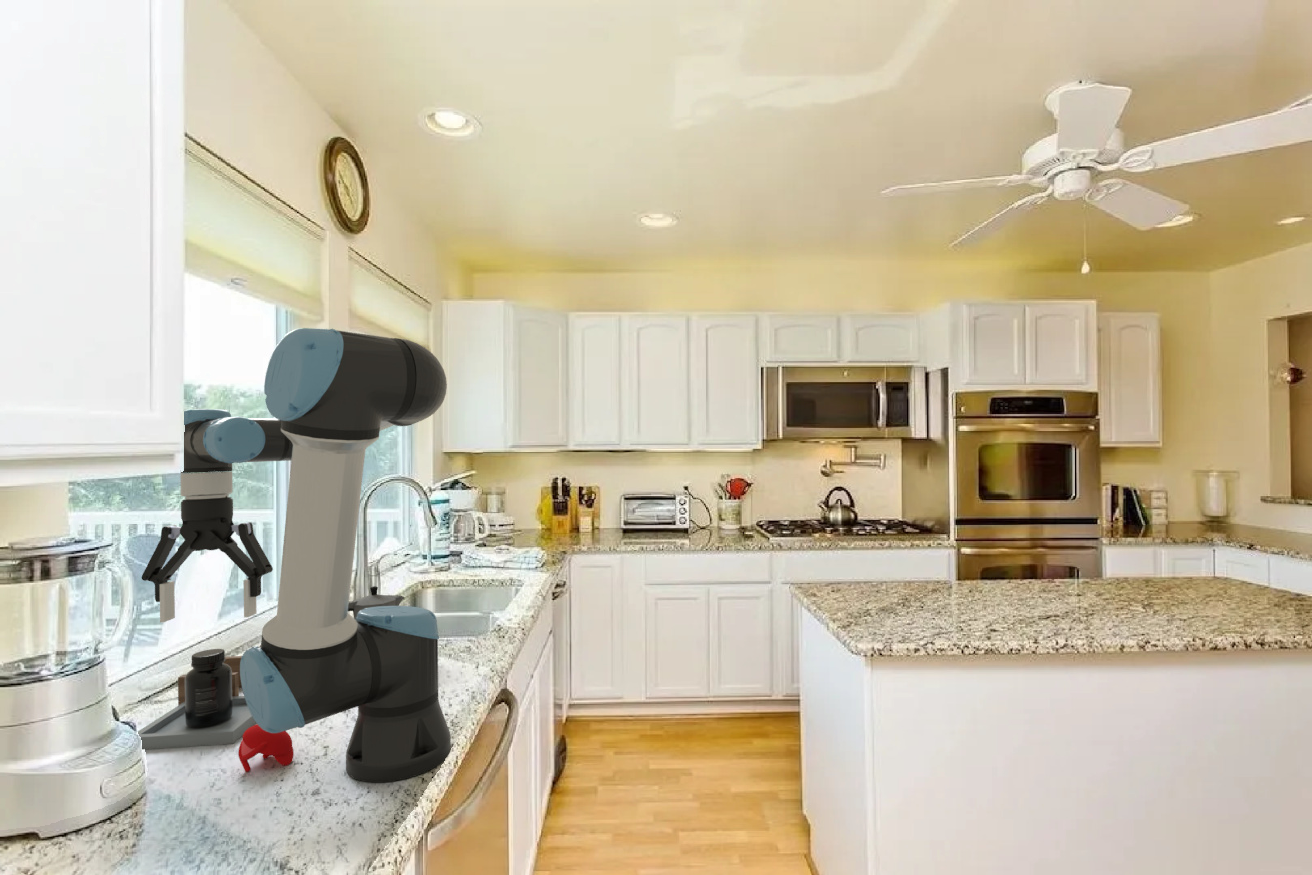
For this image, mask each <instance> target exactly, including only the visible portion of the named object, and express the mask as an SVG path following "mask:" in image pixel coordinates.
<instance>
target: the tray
mask: <svg viewBox="0 0 1312 875" xmlns="http://www.w3.org/2000/svg"><path fill="white" fill-rule="evenodd" d="M254 725H257V723H256V722H255V720H254V718H253V716H252V715H251V713H250V711H249V708H248V706H247V703H246V700H245V697H244V695H239V696H232V716H231V717H230V718H229V719H228V720H227V721H225V722H223V723H220V724H218V725H214V726H211V727H206V728H189V727H188V726H187V725H186V721H185V702H183V703H182V704H180V705H179V706H178V705H177V706H175V707H174V708H172V709H171V710H169V711H168V712H165V714H163V715H161V716H160V717H159V718H156V719H155V720H154V721H152V722H150V723H149V724H147V725H146V726H144V727H143V728H141V729H140V730H138V731H137V732H138V734H139V736H140V737H141V740H142V750H155V749H156V750H157V749H169V748H170V749H171V748H185V747H186V748H187V747H189V748H190V747H200V746H203V747H204V746H217V745H220V746H221V745H233V744H235V743H236V742H237V741H238V740H239V739H240V738H242V736H243V734H244V732H245V731H246V730H247V729H248V728H250V727H252V726H254Z"/></svg>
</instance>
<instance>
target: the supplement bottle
mask: <svg viewBox="0 0 1312 875" xmlns="http://www.w3.org/2000/svg"><path fill="white" fill-rule="evenodd" d="M225 654H226V652H225V649H224V648H211V649H206V650H205V649H204V650H201V651H198V652H195V653H193V654H192V655H191V663H190V665H191V668H192V669H191V670H189V671H188V672H187V673H186V674H185V675H186V676H185V721H186V725H187V726H188V727H189V728H206V727H211V726H214V725H218V724H220V723H223V722H225V721H227V720H228V719H229V718H230V717H231V716H232V669H231V667H230V666H229V665H227V664H225V663H224V661H225V657H226V655H225Z"/></svg>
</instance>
